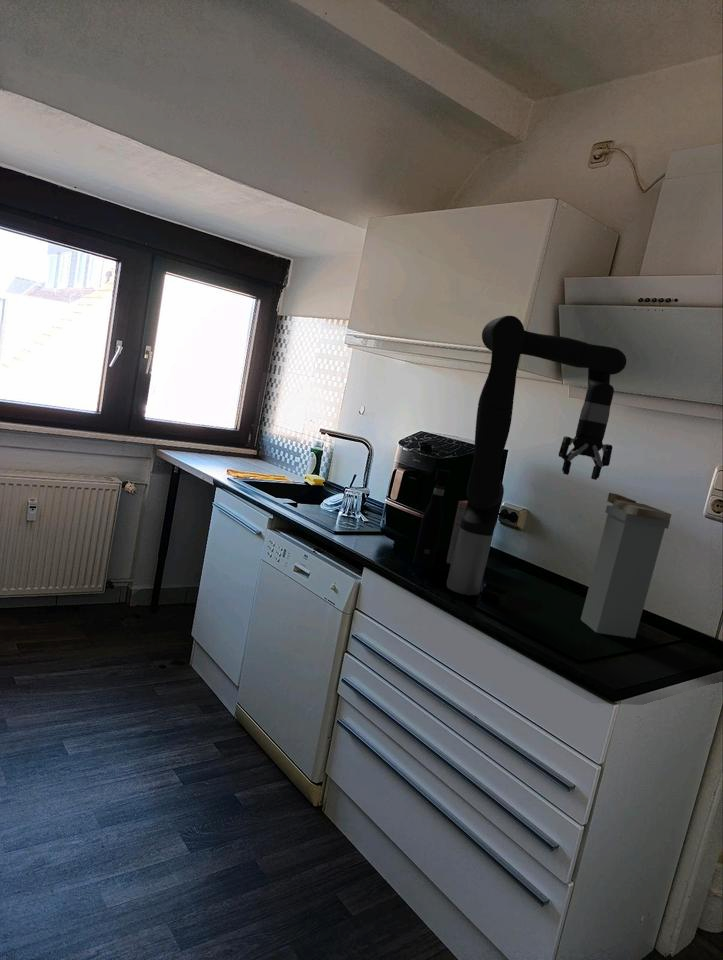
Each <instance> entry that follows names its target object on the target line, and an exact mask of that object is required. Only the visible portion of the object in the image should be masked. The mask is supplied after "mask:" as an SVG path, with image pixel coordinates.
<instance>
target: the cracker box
mask: <svg viewBox="0 0 723 960" xmlns="http://www.w3.org/2000/svg"><path fill="white" fill-rule="evenodd" d="M467 502H468V500H459V501H458V502H457V508H456V512H455V518H454V522H453V527H452V531H451V532H452V533H451V538H450V541H449V542H450V543H449V547H448V551H447V556H446V561H445V564H448V565H451V561H452V557H453V553H454V552H455V547H456V543H457V538H458V534H459V529H460V525H461V520H462V517H463V515H464V512H465V509H466V506H467Z"/></svg>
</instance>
